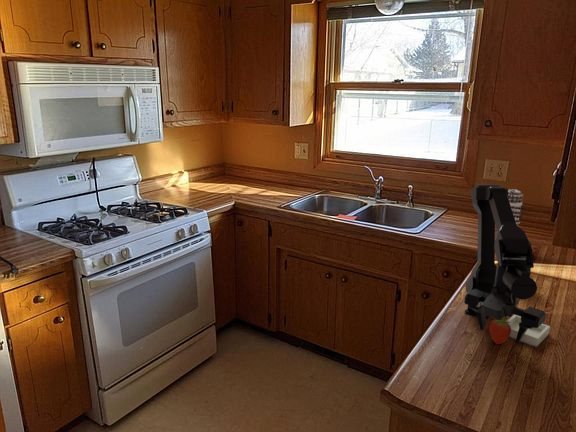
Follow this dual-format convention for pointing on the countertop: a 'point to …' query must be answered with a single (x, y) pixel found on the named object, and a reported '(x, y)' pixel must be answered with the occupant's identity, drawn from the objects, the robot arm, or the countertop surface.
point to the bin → (528, 332)
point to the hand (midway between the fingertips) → (499, 336)
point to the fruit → (500, 330)
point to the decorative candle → (515, 204)
